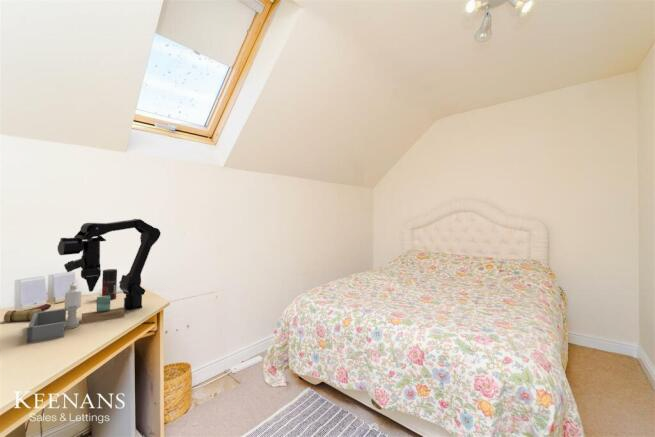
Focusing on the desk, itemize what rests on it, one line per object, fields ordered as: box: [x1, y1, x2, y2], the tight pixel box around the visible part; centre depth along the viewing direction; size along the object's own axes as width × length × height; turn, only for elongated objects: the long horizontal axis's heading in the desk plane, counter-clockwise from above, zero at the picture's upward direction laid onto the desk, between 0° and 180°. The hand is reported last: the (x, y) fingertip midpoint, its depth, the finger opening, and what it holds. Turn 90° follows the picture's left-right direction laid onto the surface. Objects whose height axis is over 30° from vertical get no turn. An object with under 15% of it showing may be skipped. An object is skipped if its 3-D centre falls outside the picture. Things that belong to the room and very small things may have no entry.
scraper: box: [81, 295, 125, 324], centre depth 123 cm, size 5×14×9 cm, turn 131°
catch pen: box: [26, 308, 67, 344], centre depth 108 cm, size 9×19×5 cm, turn 41°
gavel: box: [3, 303, 52, 323], centre depth 125 cm, size 21×5×10 cm
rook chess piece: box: [64, 306, 80, 330], centre depth 113 cm, size 4×4×8 cm
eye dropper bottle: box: [64, 281, 82, 310], centre depth 135 cm, size 4×6×12 cm
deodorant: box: [101, 268, 118, 301], centre depth 150 cm, size 6×6×15 cm
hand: (91, 288), depth 123 cm, fingers open, 9 cm apart
